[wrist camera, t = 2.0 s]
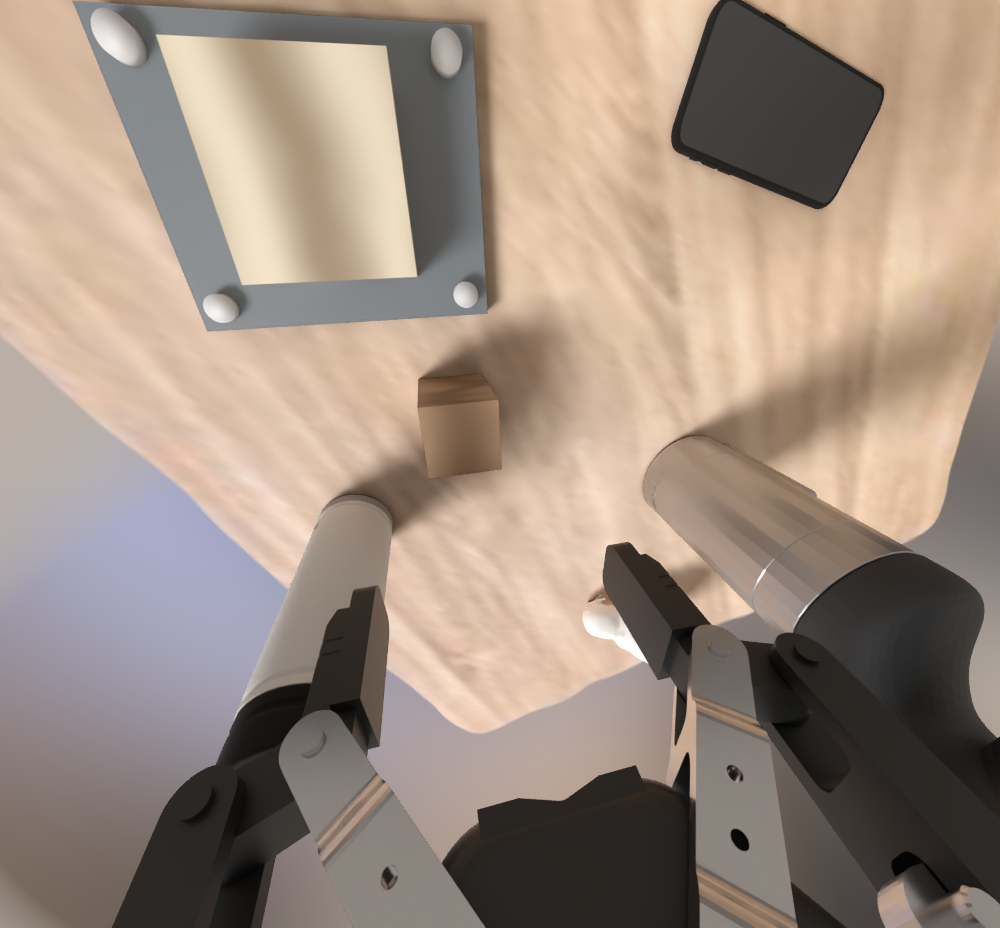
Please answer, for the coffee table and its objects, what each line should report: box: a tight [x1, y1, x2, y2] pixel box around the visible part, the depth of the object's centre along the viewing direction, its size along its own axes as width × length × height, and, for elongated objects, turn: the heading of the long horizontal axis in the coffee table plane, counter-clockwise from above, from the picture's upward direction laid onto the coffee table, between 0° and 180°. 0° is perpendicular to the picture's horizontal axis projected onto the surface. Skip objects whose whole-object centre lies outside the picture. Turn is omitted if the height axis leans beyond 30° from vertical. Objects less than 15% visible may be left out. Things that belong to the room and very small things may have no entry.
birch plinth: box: [156, 35, 418, 285], centre depth 19 cm, size 9×9×4 cm
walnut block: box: [418, 374, 502, 479], centre depth 26 cm, size 5×5×7 cm
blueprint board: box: [73, 1, 487, 332], centre depth 21 cm, size 18×14×2 cm
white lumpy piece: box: [583, 594, 648, 663], centre depth 42 cm, size 6×8×12 cm
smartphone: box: [671, 0, 884, 209], centre depth 24 cm, size 7×1×15 cm
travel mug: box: [216, 495, 393, 771], centre depth 24 cm, size 6×7×20 cm
